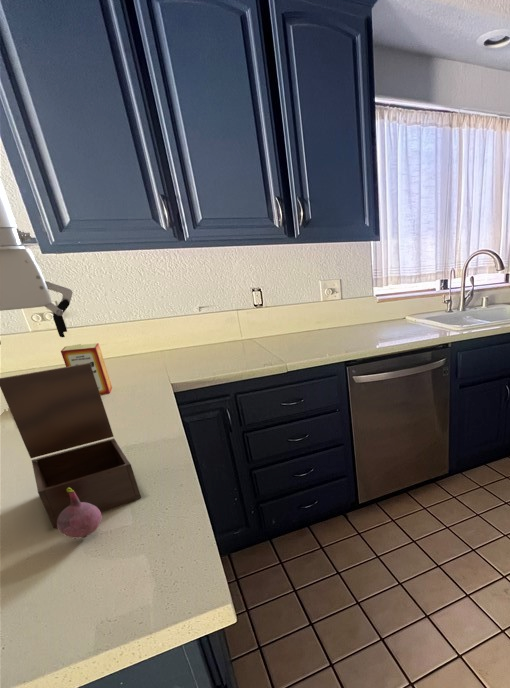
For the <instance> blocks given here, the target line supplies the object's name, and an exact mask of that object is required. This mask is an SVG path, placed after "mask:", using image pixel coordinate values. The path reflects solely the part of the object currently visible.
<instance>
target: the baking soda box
mask: <svg viewBox="0 0 510 688" xmlns="http://www.w3.org/2000/svg"><path fill="white" fill-rule="evenodd" d="M60 353H61V356H62V359H63V362H64V365H65V367H69V366H74V365H80V364H86V363H90V365H91V368H92V371H93V374H94V377H95V380H96V383H97V386H98V389H99V393H100V396H102V395H107V394H108V395H109V394H111V392H112V389H113V385H112V382H111V379H110V376H109V372H108V369H107V366H106V363H105V359H104V357H103V353H102V350H101V346H100V344H99V343H97V342H96V343H86V344H82V343H79V344H73V345H66V346H64V347H63V348H62V349H61V350H60Z"/></svg>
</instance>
